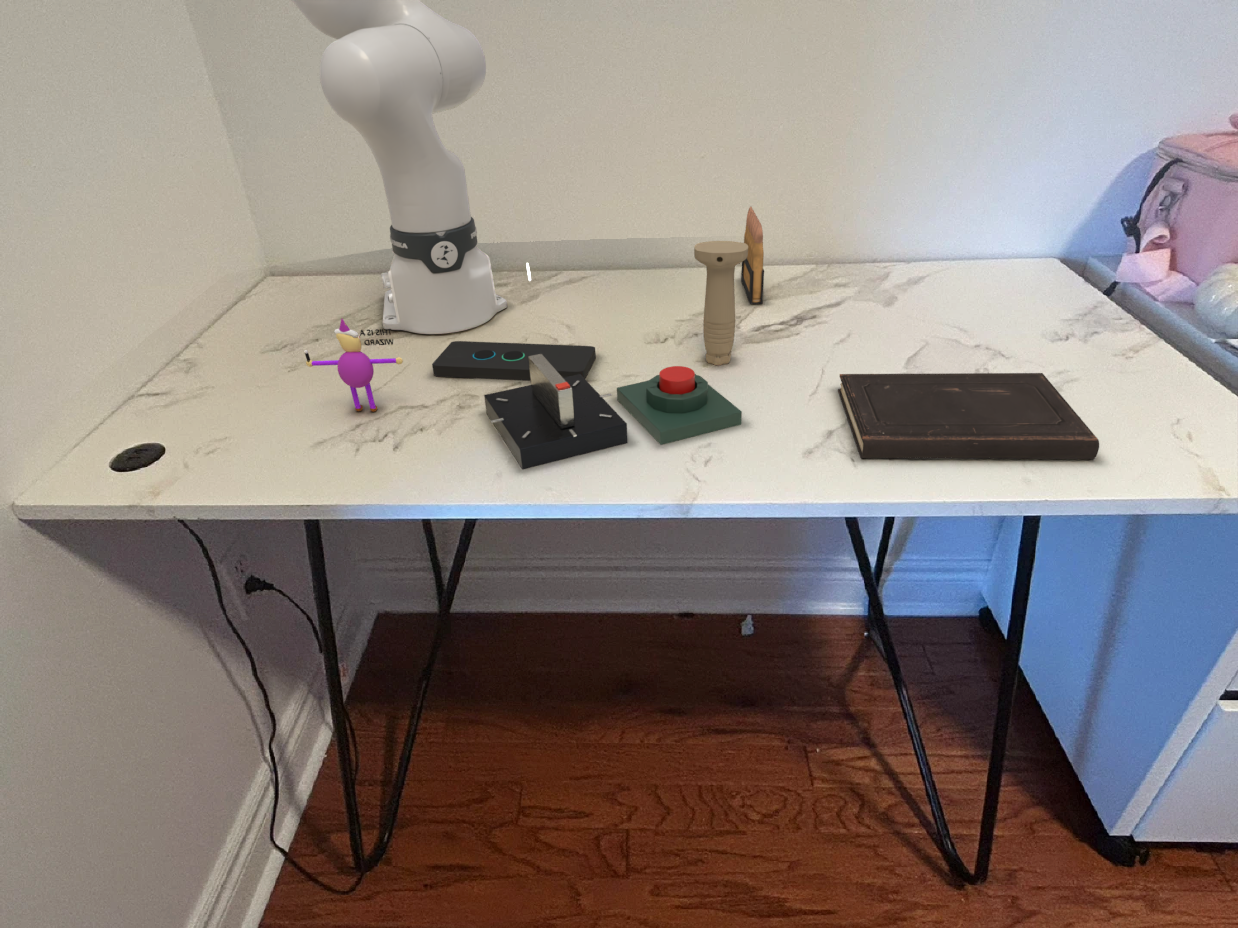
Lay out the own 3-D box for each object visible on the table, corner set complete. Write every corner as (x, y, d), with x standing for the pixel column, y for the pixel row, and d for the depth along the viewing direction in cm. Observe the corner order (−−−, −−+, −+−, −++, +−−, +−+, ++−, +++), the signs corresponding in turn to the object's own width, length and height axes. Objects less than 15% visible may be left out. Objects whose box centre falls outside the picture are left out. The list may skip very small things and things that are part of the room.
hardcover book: (837, 391, 98) (839, 373, 97) (1038, 390, 96) (1042, 372, 95) (861, 461, 85) (863, 441, 84) (1095, 462, 83) (1101, 442, 82)
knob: (531, 391, 96) (527, 354, 93) (544, 388, 96) (541, 351, 94) (561, 429, 88) (557, 389, 85) (575, 425, 88) (572, 385, 86)
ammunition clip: (762, 304, 123) (767, 223, 117) (750, 304, 124) (754, 224, 117) (752, 280, 133) (756, 204, 126) (740, 280, 133) (743, 205, 126)
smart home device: (452, 339, 112) (596, 344, 109) (454, 350, 113) (597, 356, 110) (429, 364, 105) (582, 371, 102) (431, 377, 106) (583, 384, 103)
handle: (742, 370, 104) (747, 253, 96) (691, 368, 105) (692, 252, 97) (744, 354, 108) (748, 241, 100) (695, 352, 109) (696, 240, 102)
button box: (617, 400, 99) (615, 373, 97) (691, 383, 102) (691, 356, 100) (660, 445, 89) (660, 417, 87) (741, 424, 92) (742, 396, 90)
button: (653, 384, 95) (653, 370, 94) (684, 377, 96) (684, 363, 95) (669, 398, 92) (668, 383, 91) (700, 391, 93) (701, 376, 92)
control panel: (477, 415, 97) (474, 395, 95) (589, 390, 101) (588, 370, 100) (512, 473, 85) (510, 451, 84) (637, 441, 90) (636, 420, 89)
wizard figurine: (414, 405, 100) (396, 311, 93) (408, 418, 97) (389, 321, 90) (323, 407, 100) (298, 314, 94) (314, 420, 97) (288, 324, 91)
